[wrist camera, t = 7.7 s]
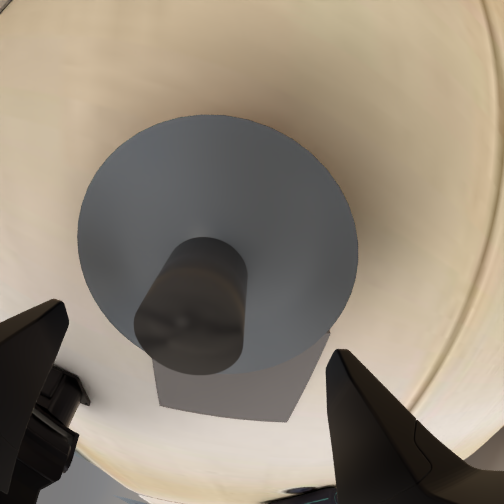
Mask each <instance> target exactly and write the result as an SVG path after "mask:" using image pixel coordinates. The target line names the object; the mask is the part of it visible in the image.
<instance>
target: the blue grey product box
mask: <svg viewBox="0 0 504 504" xmlns="http://www.w3.org/2000/svg"><path fill="white" fill-rule="evenodd" d="M10 1H11V0H0V13H1V11H2V10H3V9H4V8H5V7H6V6H7V5H8V3H9V2H10Z"/></svg>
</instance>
